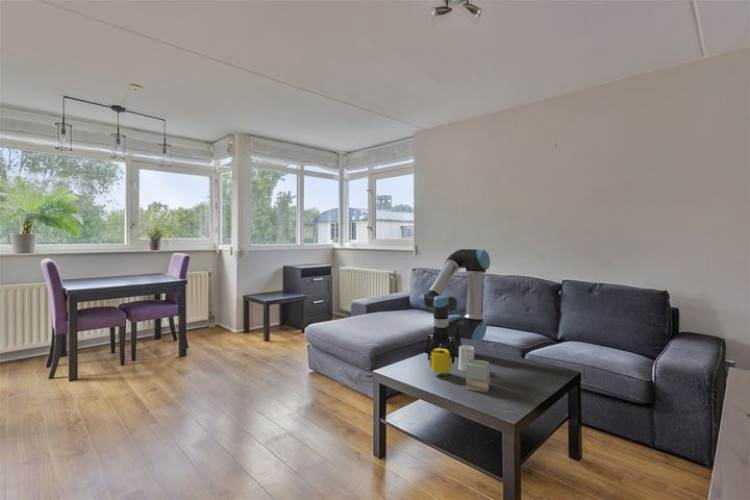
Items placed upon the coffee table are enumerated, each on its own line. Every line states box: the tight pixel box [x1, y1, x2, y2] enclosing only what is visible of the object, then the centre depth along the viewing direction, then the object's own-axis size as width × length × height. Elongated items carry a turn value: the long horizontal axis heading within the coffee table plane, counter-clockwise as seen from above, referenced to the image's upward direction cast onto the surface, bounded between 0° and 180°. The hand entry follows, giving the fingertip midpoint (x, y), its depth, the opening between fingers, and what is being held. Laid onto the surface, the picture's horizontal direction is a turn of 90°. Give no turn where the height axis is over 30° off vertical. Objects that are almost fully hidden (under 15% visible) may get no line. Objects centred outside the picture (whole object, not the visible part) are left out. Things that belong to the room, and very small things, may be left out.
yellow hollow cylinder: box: [431, 347, 452, 374], centre depth 194 cm, size 10×10×9 cm
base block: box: [465, 372, 491, 394], centre depth 179 cm, size 10×10×6 cm
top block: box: [466, 358, 490, 380], centre depth 179 cm, size 9×9×6 cm
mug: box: [457, 344, 475, 373], centre depth 201 cm, size 12×8×12 cm
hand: (441, 367), depth 194 cm, fingers closed on yellow hollow cylinder, 10 cm apart
